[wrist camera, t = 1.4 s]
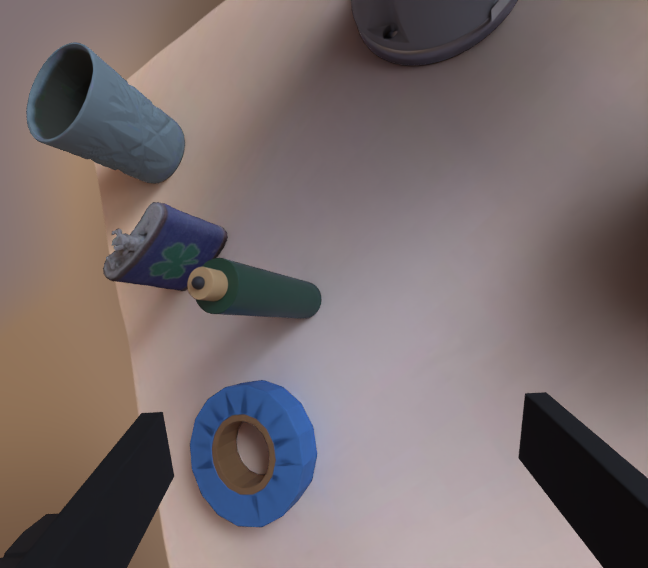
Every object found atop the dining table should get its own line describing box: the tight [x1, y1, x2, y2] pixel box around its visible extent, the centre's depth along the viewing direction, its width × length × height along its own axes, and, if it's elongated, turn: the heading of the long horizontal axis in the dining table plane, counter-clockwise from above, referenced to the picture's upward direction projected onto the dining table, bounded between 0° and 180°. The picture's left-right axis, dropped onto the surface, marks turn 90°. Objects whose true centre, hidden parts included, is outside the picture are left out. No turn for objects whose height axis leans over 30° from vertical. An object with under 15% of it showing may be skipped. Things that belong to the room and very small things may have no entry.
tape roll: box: [190, 380, 317, 527], centre depth 33 cm, size 12×12×3 cm
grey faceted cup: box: [26, 43, 185, 183], centre depth 39 cm, size 10×10×12 cm
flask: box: [103, 202, 228, 291], centre depth 35 cm, size 9×3×11 cm, turn 133°
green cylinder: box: [187, 258, 321, 318], centre depth 27 cm, size 4×4×15 cm
